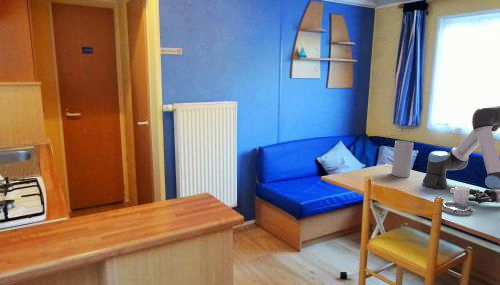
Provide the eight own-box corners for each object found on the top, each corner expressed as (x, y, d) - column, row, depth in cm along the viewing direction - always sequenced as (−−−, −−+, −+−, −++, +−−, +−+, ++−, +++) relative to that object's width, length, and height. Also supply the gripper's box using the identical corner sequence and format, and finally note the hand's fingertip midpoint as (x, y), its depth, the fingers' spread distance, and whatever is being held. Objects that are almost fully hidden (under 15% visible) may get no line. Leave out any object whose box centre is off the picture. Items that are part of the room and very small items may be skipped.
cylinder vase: (413, 177, 263) (417, 144, 258) (398, 178, 260) (402, 144, 255) (402, 172, 275) (406, 140, 270) (388, 173, 272) (391, 140, 267)
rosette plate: (433, 208, 203) (433, 204, 202) (447, 203, 212) (447, 198, 212) (463, 218, 190) (464, 213, 190) (476, 212, 200) (477, 207, 199)
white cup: (467, 207, 206) (470, 191, 204) (451, 204, 210) (454, 188, 208) (467, 203, 213) (470, 187, 211) (452, 200, 217) (455, 184, 215)
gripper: (506, 210, 198) (466, 208, 199) (480, 194, 222) (445, 193, 223) (508, 197, 196) (468, 195, 197) (482, 183, 221) (446, 181, 222)
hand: (456, 194), depth 210 cm, fingers open, 13 cm apart
